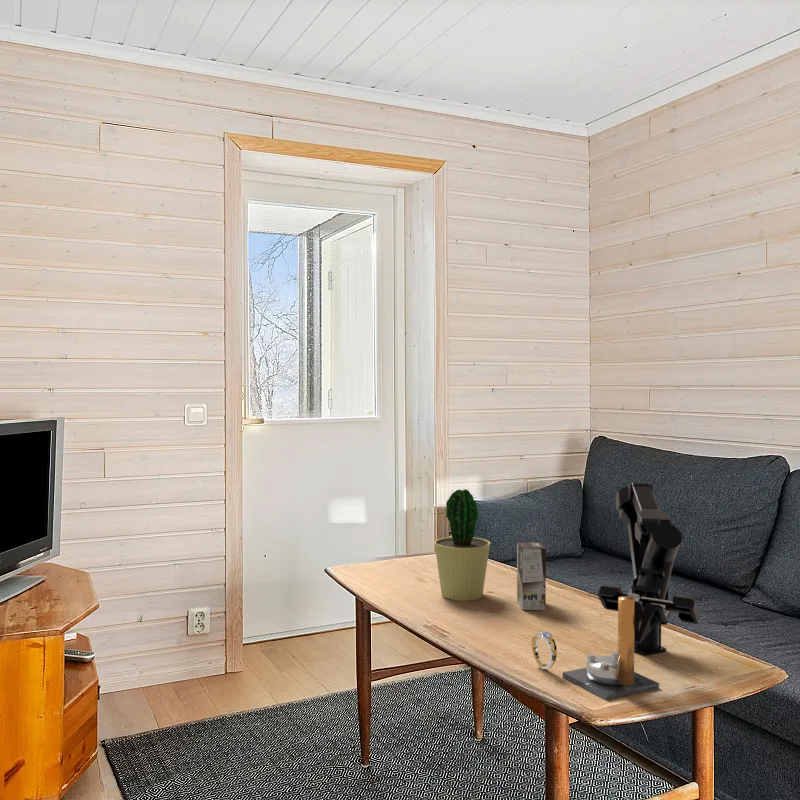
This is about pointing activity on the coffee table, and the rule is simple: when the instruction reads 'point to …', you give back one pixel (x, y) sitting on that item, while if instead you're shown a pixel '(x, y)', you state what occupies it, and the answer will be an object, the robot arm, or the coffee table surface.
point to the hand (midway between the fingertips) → (638, 642)
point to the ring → (552, 647)
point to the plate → (607, 689)
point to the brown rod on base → (621, 662)
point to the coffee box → (531, 575)
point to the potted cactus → (462, 551)
